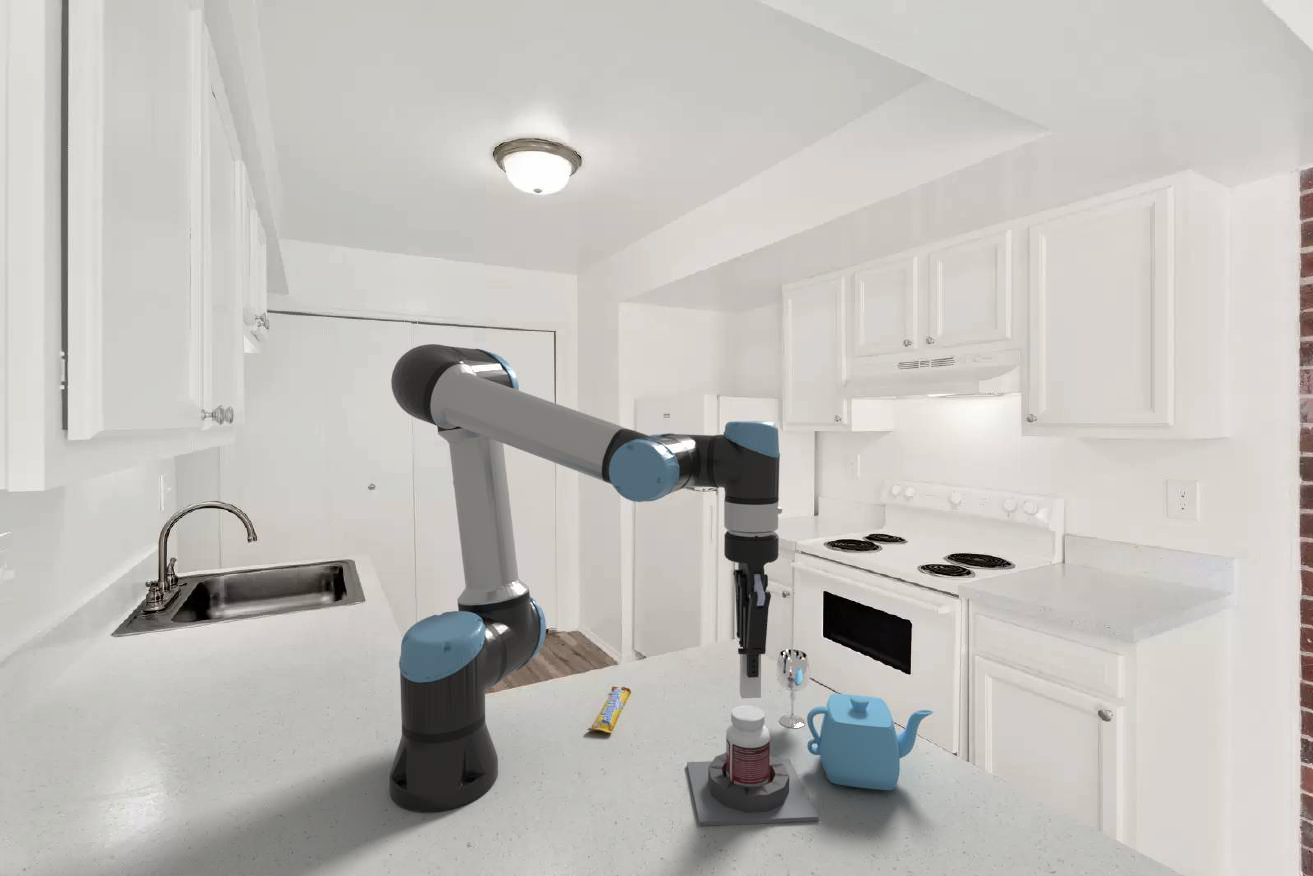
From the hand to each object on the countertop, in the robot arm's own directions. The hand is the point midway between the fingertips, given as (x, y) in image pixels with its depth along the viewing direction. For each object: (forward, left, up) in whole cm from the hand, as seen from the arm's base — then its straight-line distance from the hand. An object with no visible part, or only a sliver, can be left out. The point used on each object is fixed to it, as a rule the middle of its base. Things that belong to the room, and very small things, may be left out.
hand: (750, 695), depth 91 cm
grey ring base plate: (0, 0, -14) cm, 14 cm away
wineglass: (+12, +20, -14) cm, 27 cm away
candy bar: (-20, +25, -15) cm, 35 cm away
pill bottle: (0, 0, -14) cm, 14 cm away
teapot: (+19, +4, -14) cm, 24 cm away
